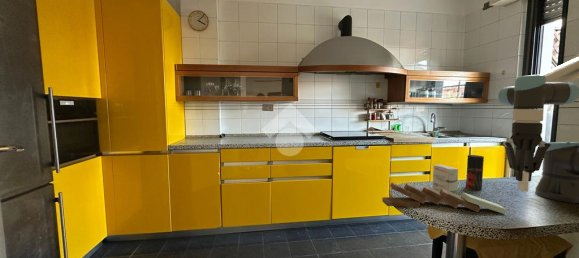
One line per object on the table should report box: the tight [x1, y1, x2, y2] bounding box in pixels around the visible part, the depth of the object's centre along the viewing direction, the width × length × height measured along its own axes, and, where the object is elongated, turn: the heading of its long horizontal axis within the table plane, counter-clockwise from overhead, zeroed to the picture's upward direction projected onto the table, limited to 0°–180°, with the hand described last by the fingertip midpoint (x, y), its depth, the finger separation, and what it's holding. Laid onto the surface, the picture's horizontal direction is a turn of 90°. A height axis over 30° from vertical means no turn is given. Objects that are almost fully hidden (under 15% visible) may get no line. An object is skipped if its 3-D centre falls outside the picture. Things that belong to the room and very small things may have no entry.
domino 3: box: [421, 184, 460, 209], centre depth 96 cm, size 2×5×12 cm
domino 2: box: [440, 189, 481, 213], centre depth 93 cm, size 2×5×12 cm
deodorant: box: [465, 154, 485, 192], centre depth 116 cm, size 6×6×15 cm
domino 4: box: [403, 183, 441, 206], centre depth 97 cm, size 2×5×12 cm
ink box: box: [431, 164, 459, 195], centre depth 108 cm, size 9×5×12 cm, turn 12°
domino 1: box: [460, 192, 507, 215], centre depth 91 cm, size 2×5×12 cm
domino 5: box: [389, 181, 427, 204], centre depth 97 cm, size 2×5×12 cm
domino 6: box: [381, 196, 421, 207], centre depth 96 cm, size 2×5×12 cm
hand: (522, 190), depth 88 cm, fingers closed
